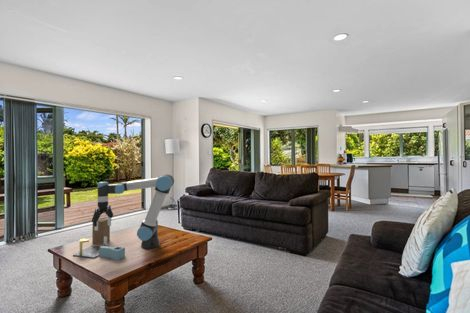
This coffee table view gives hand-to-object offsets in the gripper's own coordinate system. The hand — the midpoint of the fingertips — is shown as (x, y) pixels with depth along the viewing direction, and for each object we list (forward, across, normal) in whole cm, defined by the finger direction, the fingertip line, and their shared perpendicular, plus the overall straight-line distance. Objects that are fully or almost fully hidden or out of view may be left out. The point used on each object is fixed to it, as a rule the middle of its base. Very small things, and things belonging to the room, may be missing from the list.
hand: (103, 227), depth 197 cm
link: (+20, +5, +12) cm, 24 cm away
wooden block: (+20, -20, -21) cm, 35 cm away
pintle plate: (+20, +1, -8) cm, 22 cm away
